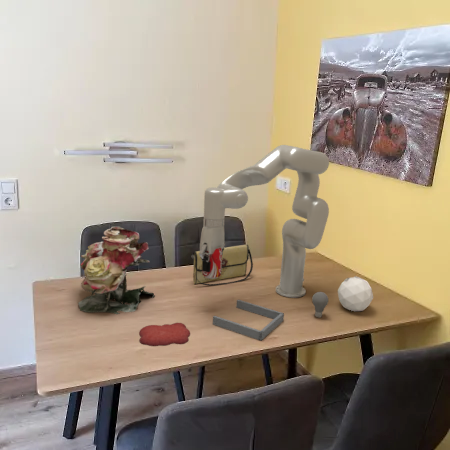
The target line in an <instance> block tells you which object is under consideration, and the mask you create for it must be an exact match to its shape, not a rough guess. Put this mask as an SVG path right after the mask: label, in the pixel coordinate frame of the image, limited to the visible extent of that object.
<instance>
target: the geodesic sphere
mask: <svg viewBox="0 0 450 450" xmlns="http://www.w3.org/2000/svg"><path fill="white" fill-rule="evenodd" d="M337 296H338V300H339V303H340V304H341V305H342V306H343V308H345V309H346V310H349V311H350V310H351V311H350V312H352V311H354V312H364V310H365V309H367V307H369V306H370V304H371V302H372V300H373V299H374V294H373V289H372V287H371V286H370V283H369V282H368V281H367V280H365V279H364V278H361V277H359V276H356V275H355V276H353V277H347V278H345V279H344V281H343V282H341V284H340V285H339V287H338V289H337Z"/></svg>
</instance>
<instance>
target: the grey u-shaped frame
mask: <svg viewBox="0 0 450 450" xmlns="http://www.w3.org/2000/svg"><path fill="white" fill-rule="evenodd" d="M235 307H236V308H237V309H240V310H243V311H246V312H250V313H252V314H257V315H260V316H262V317H266V318H269V319H272V320H271V321H269V323H268V324H267V325H265V326H264V327H263V328H262V329H261V330H260V329H256V328H253V327H250V326H248V325H244V324H242V323H238V322H236V321H235V322H234V321H232V320H229V319H226V318H223V317H221V316H220V317H219V316H216V315H213V316H212V325H213V326H217V327H220V328H222V329H225V330H228V331H232V332H234V333H236V334H237V333H238V334H241V335H242V336H246V337H248V338H252V339H255V340H257V341H263V340H264V339H266V337H267V336H269V334H270V333H272V332H273V331H274V330H275V329H276V328H277V327H278V326H279V325H281V324H282V322H283V321H284V319H285V317H284V316H285V313H283V312H281V311H278V310H274V309H270V308H267V307H265V306H261V305H258V304H254V303H251V302H248V301H244V300H241V299H236V306H235Z"/></svg>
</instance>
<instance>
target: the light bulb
mask: <svg viewBox="0 0 450 450" xmlns="http://www.w3.org/2000/svg"><path fill="white" fill-rule="evenodd" d="M311 300H312V301H311V302H312V304H313V306H314V311H315V312H314V316H315V317H316V318H322V317H323V312H324V310H325V308H326V307H327V305H328V303H329V296H328V295H327V294H326V293H325V292H323V291H317V292H315V293H314V294H313V296H312V298H311Z"/></svg>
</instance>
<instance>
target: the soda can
mask: <svg viewBox="0 0 450 450" xmlns="http://www.w3.org/2000/svg"><path fill="white" fill-rule="evenodd" d="M206 253H209V251H206ZM206 257H207V258H208V255H206ZM209 262H211V263H210V272H205V271H203V275H204V276H205V277H206V278H209V279H215V278H218V277H219V276H220V275H221V267H222V249H221V246H220V247H219V248H216V250H215V251H214V253H213V254H212V255H211V258H210V261H209Z"/></svg>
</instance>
